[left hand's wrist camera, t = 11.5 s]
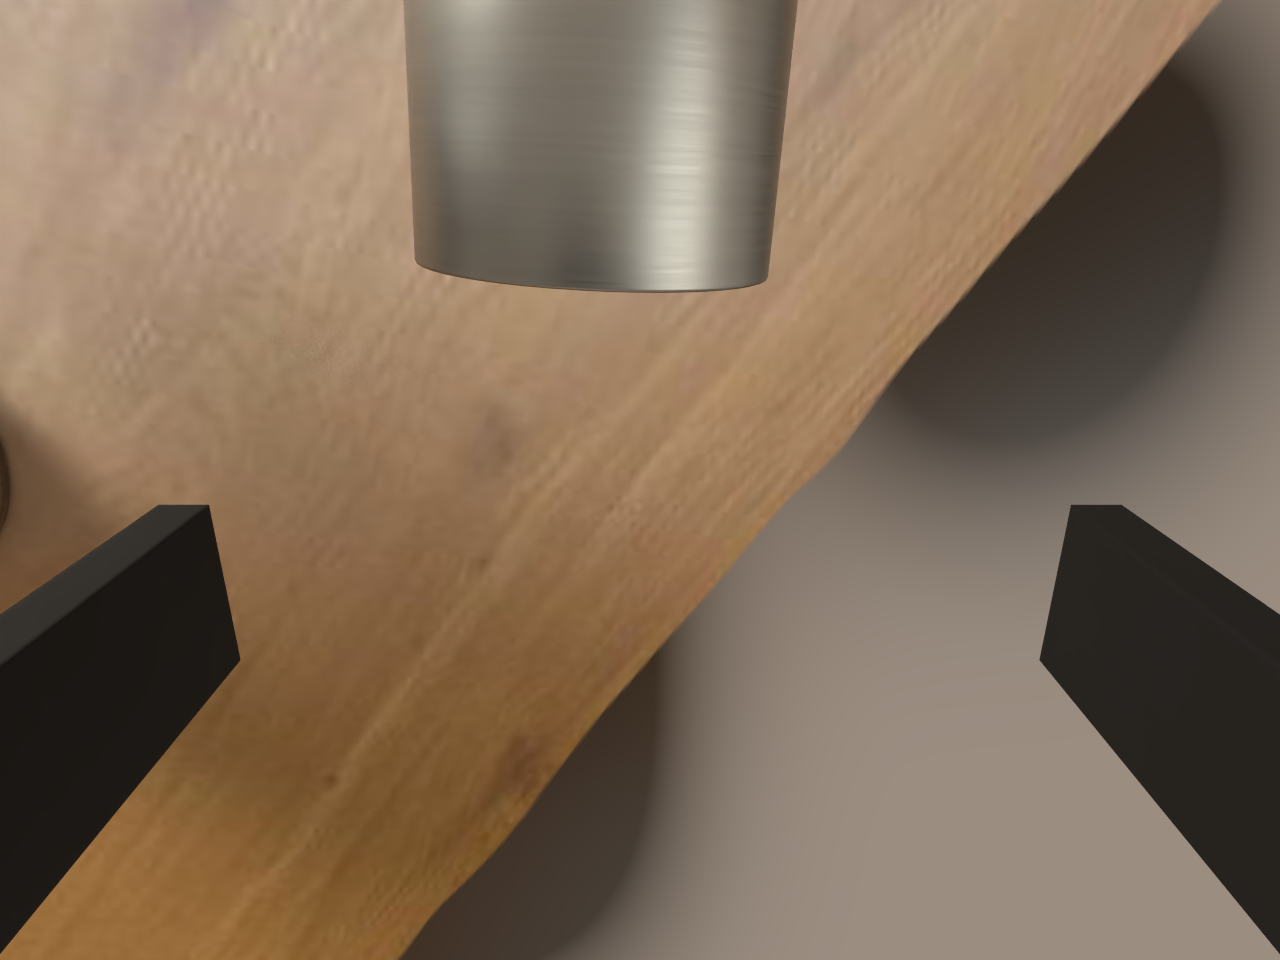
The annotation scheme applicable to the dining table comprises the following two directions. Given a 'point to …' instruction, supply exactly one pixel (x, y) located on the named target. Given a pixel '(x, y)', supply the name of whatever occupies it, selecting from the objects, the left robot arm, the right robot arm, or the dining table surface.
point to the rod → (597, 140)
